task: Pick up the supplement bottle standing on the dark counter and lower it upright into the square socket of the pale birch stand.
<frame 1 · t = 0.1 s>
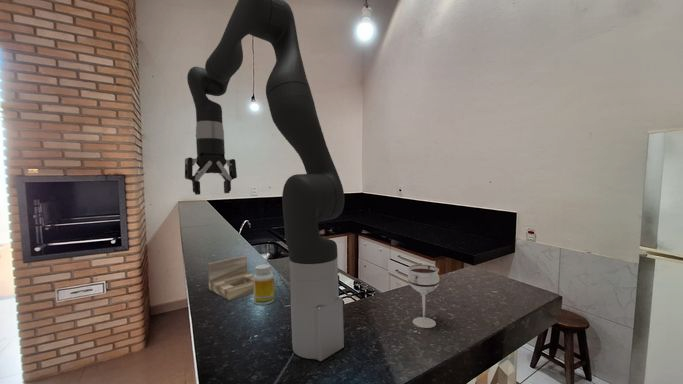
hand: (212, 193, 87), 29 cm above the countertop, tool pointing down, fingers open, 8 cm apart
supplement bottle: (264, 302, 80), on the countertop
wineglass: (424, 323, 66), on the countertop
socket stand: (239, 289, 90), on the countertop
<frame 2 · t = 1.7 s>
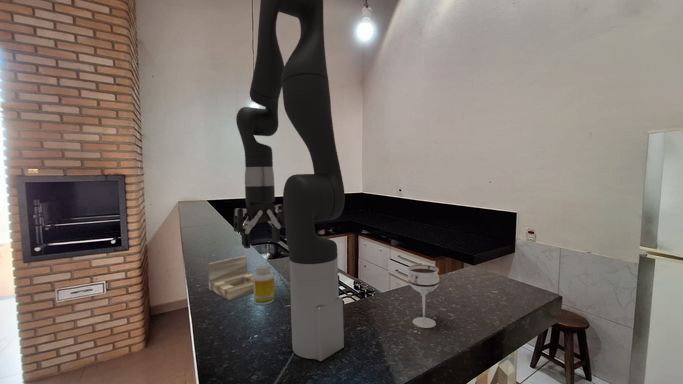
hand: (261, 245, 79), 15 cm above the countertop, tool pointing down, fingers open, 8 cm apart
nothing on the countertop moved.
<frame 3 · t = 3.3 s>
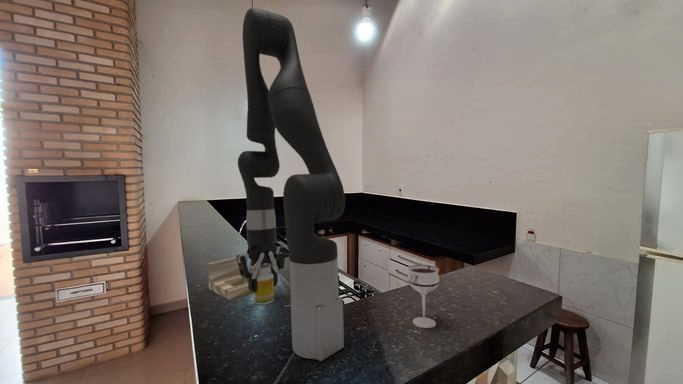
hand: (263, 288, 80), 4 cm above the countertop, tool pointing down, fingers closed on supplement bottle, 5 cm apart
supplement bottle: (264, 302, 80), on the countertop, touching gripper
everything else where it was.
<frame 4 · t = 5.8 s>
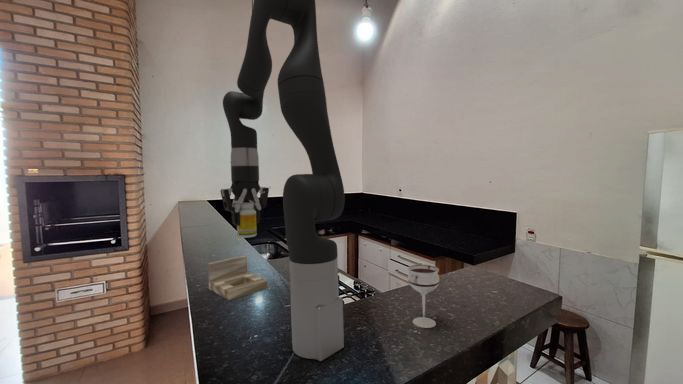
hand: (246, 223, 85), 20 cm above the countertop, tool pointing down, fingers closed on supplement bottle, 5 cm apart
supplement bottle: (247, 236, 85), point 17 cm above the countertop, touching gripper
everything else where it was.
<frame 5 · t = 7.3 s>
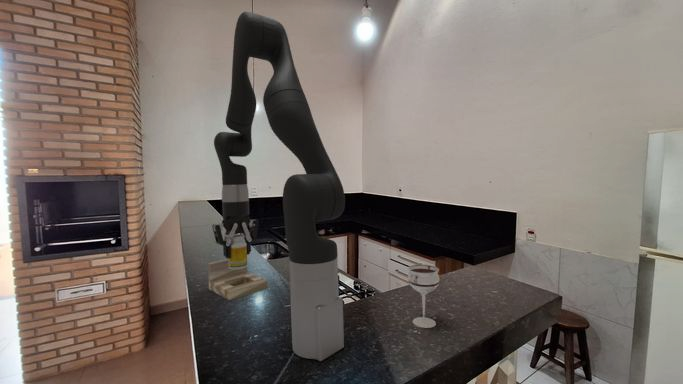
hand: (237, 255, 89), 10 cm above the countertop, tool pointing down, fingers closed on supplement bottle, 5 cm apart
supplement bottle: (238, 267, 89), point 7 cm above the countertop, touching gripper
everything else where it was.
when the fingers open (5 cm above the countertop, at t = 8.7 s): supplement bottle drops 1 cm, resting in socket stand.
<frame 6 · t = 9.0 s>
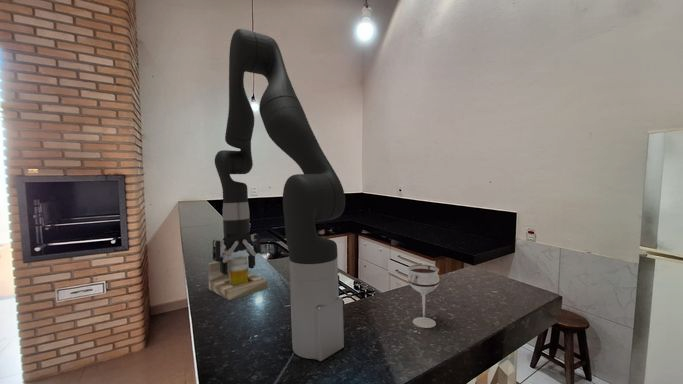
hand: (238, 271, 89), 6 cm above the countertop, tool pointing down, fingers open, 8 cm apart
supplement bottle: (239, 290, 89), resting in socket stand
everything else where it was.
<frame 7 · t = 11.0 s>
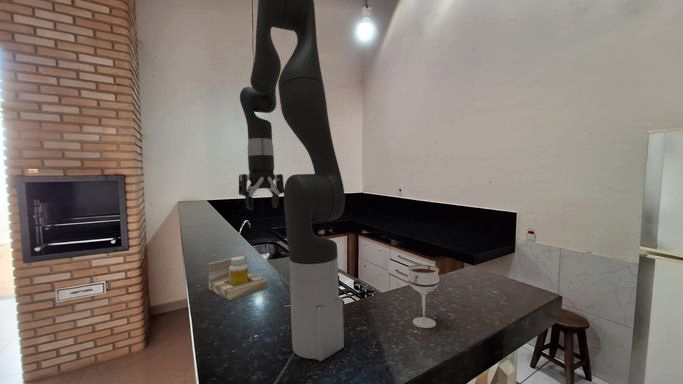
hand: (263, 208, 90), 24 cm above the countertop, tool pointing down, fingers open, 8 cm apart
nothing on the countertop moved.
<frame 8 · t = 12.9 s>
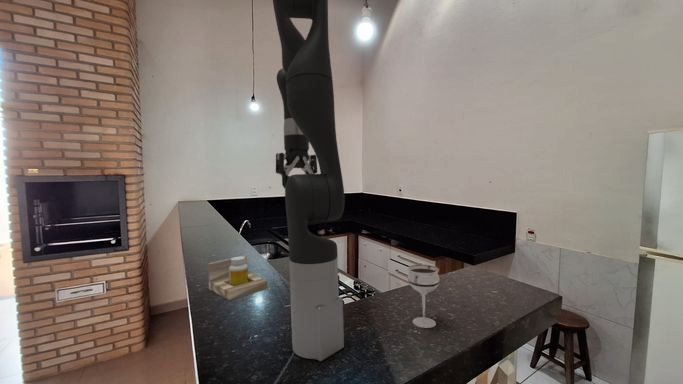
hand: (298, 187, 92), 30 cm above the countertop, tool pointing down, fingers open, 8 cm apart
nothing on the countertop moved.
at the end: supplement bottle 0.1 cm off-centre on the socket stand, point 0.0 cm above the socket stand's base; supplement bottle tilted 0°; the gripper is holding nothing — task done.
